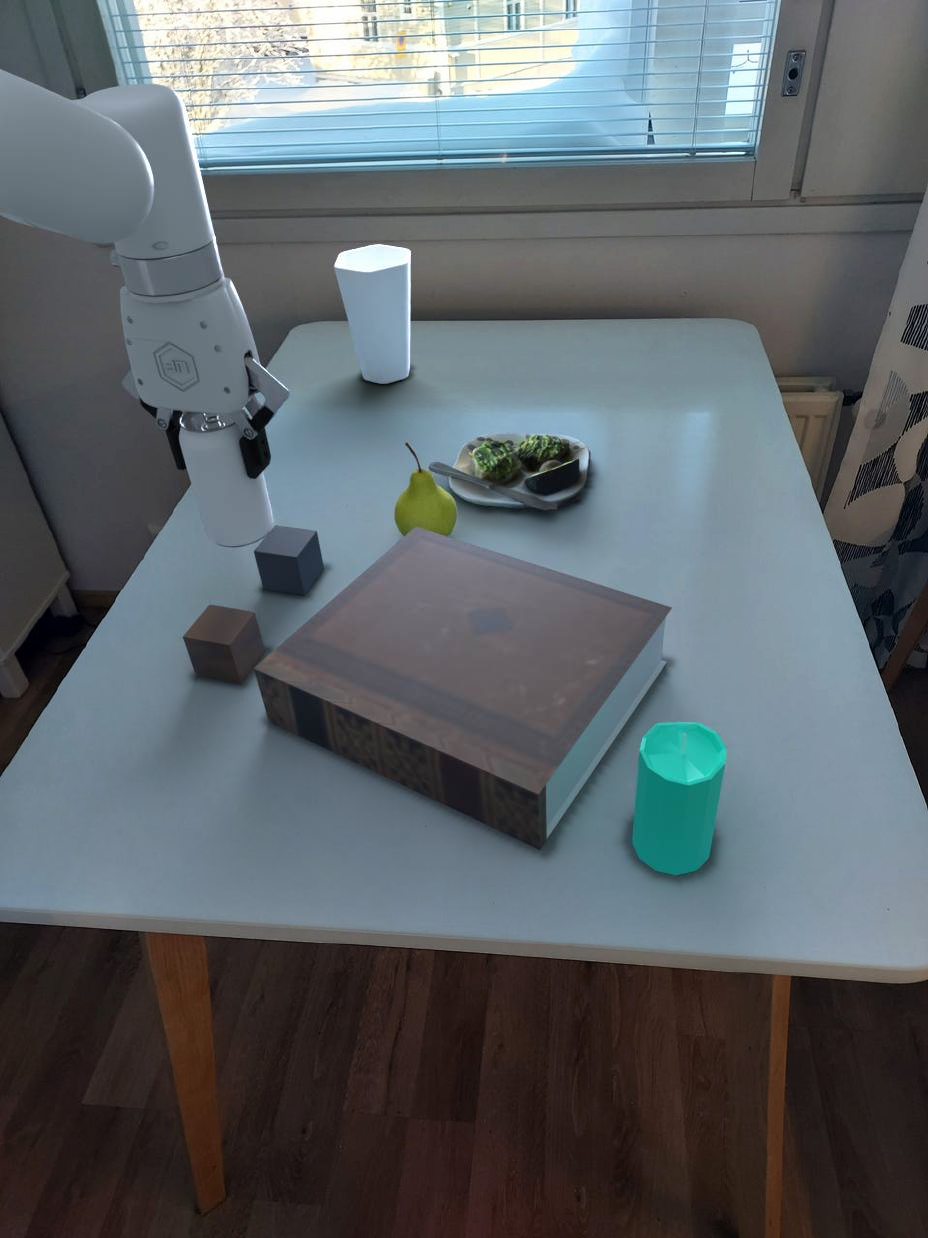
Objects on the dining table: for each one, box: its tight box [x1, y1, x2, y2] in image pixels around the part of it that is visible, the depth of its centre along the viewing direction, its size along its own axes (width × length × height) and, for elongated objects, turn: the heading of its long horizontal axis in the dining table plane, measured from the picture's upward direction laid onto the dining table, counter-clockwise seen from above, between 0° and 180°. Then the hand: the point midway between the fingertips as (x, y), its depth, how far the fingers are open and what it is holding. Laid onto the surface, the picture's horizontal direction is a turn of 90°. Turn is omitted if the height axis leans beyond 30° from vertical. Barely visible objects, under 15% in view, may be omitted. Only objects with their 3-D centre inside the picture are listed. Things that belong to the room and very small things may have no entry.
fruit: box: [393, 441, 458, 537], centre depth 101 cm, size 7×7×12 cm
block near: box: [182, 603, 266, 685], centre depth 89 cm, size 5×5×5 cm
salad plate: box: [427, 432, 592, 512], centre depth 112 cm, size 19×18×5 cm
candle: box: [631, 721, 728, 876], centre depth 67 cm, size 6×6×12 cm
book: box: [253, 527, 673, 850], centre depth 83 cm, size 24×28×6 cm
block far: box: [253, 524, 325, 596], centre depth 99 cm, size 5×5×5 cm
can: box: [179, 411, 275, 548], centre depth 85 cm, size 6×6×12 cm
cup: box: [333, 244, 412, 385], centre depth 134 cm, size 11×10×17 cm
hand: (224, 465), depth 84 cm, fingers closed on can, 6 cm apart
